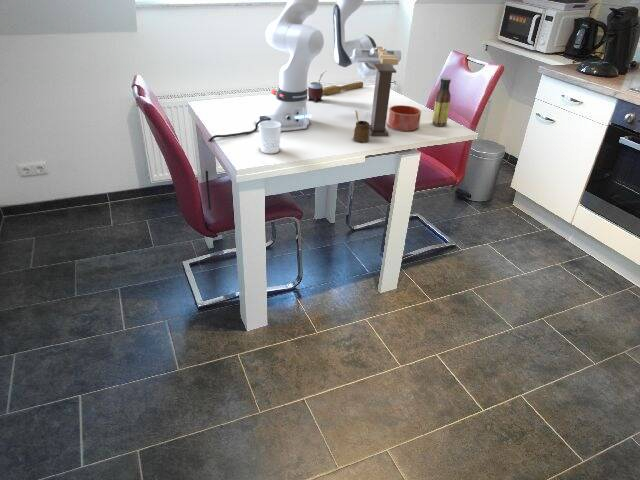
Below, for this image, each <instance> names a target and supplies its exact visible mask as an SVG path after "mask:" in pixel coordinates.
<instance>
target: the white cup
mask: <svg viewBox="0 0 640 480" xmlns="http://www.w3.org/2000/svg"><path fill="white" fill-rule="evenodd" d="M258 132H259V133H258V134H259V143H260V151H261V152H262V153H264V154H277V153H278V152H279V151H280V145H281V132H282V131H281V123H279V122H277V121H270V120H268V121H262V122H260V123H259V126H258Z"/></svg>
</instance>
